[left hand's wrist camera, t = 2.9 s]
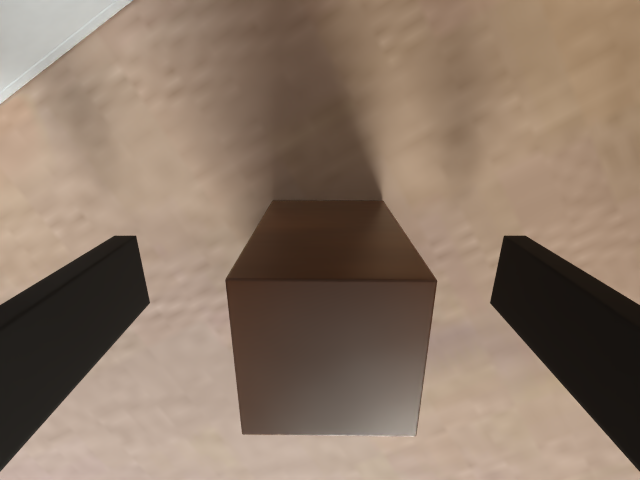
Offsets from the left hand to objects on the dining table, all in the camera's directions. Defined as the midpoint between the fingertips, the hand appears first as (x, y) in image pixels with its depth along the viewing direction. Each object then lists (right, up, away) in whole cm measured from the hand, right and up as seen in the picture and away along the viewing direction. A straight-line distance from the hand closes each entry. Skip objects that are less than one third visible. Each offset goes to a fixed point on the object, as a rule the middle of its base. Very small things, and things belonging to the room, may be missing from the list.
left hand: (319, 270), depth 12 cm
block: (0, +1, +2) cm, 2 cm away
